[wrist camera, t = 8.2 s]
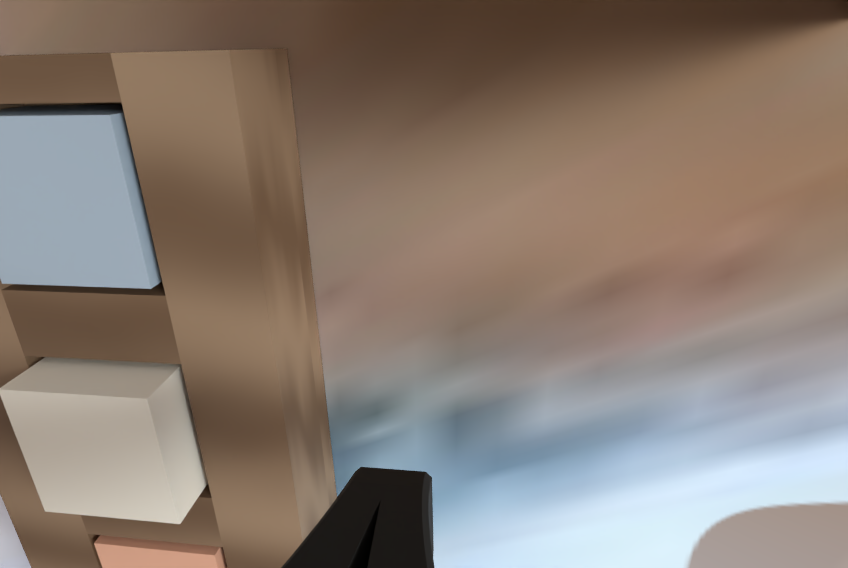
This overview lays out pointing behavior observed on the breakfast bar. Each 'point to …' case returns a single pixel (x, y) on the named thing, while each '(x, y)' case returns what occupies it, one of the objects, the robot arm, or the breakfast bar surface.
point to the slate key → (72, 200)
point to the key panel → (191, 300)
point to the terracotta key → (156, 554)
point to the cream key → (108, 437)
